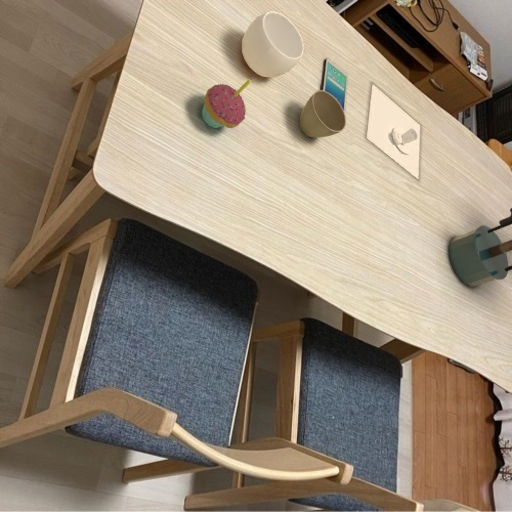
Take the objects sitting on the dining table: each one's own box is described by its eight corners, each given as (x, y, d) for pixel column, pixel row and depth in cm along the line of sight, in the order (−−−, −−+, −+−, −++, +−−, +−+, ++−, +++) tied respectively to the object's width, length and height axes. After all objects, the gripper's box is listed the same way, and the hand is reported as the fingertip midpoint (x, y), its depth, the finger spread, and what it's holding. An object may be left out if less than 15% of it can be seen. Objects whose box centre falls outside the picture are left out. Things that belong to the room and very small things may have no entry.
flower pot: (326, 124, 132) (348, 108, 127) (319, 155, 127) (343, 140, 122) (294, 98, 128) (316, 81, 123) (286, 129, 123) (309, 112, 118)
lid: (499, 236, 154) (528, 225, 148) (508, 286, 148) (539, 277, 142) (467, 219, 146) (497, 207, 140) (475, 272, 139) (507, 262, 134)
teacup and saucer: (388, 142, 147) (401, 134, 144) (390, 120, 151) (402, 112, 148) (410, 160, 151) (423, 153, 148) (411, 138, 155) (424, 131, 152)
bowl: (475, 246, 158) (500, 236, 153) (483, 292, 152) (509, 283, 147) (445, 231, 151) (471, 221, 145) (452, 279, 145) (479, 270, 140)
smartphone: (348, 73, 144) (344, 116, 137) (345, 75, 145) (342, 118, 137) (327, 56, 141) (322, 99, 133) (324, 58, 141) (319, 101, 134)
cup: (284, 71, 129) (314, 46, 122) (262, 97, 121) (292, 71, 114) (247, 28, 126) (275, -1, 119) (222, 51, 118) (251, 22, 111)
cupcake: (201, 89, 110) (238, 53, 102) (234, 116, 114) (273, 84, 105) (187, 119, 105) (225, 84, 97) (223, 146, 109) (262, 115, 100)
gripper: (563, 174, 127) (473, 212, 143) (607, 266, 125) (511, 294, 141) (573, 170, 132) (486, 207, 148) (615, 259, 130) (522, 287, 146)
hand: (498, 249), depth 145 cm, fingers open, 10 cm apart
